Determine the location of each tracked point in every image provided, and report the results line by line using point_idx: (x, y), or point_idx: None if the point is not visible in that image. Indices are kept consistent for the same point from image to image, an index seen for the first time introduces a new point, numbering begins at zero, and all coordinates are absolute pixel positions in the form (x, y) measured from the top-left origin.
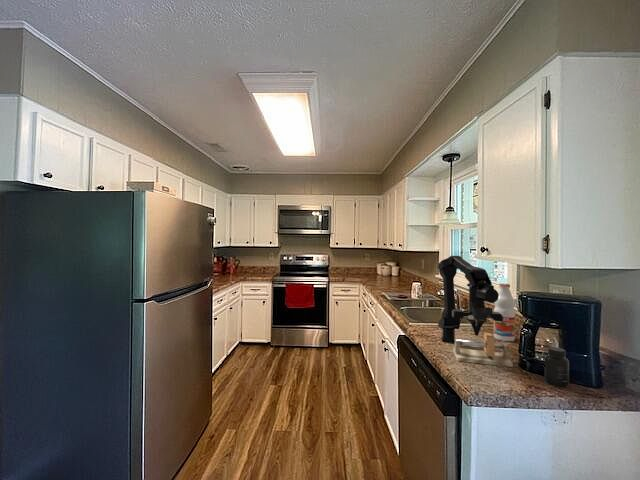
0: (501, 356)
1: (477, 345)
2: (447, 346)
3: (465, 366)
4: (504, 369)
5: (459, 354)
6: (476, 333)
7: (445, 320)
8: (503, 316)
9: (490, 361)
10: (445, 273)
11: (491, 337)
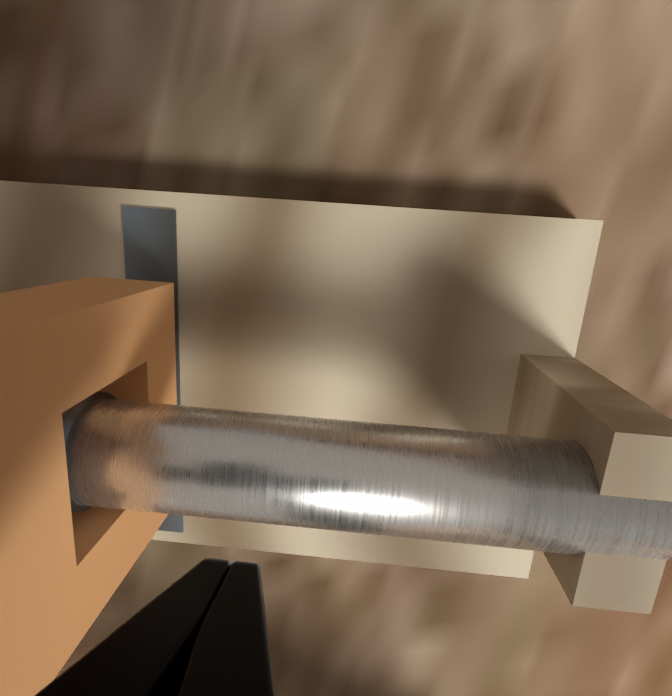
0: None
1: (271, 414)
2: (527, 684)
3: (540, 33)
4: (67, 59)
5: (530, 353)
6: (218, 597)
7: None
8: None
9: (180, 193)
10: None
11: None
